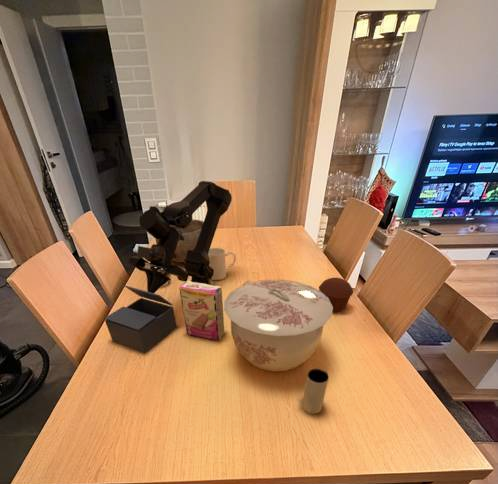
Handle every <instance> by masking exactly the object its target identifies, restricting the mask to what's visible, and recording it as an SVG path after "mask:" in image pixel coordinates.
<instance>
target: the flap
mask: <svg viewBox="0 0 498 484" xmlns="http://www.w3.org/2000/svg"><path fill="white" fill-rule="evenodd" d="M124 288H126V289H128V290H129V291H131V292H132V293H134V294H135V295H137V296H139V297H140V298H143V299H147V300H150V301H154V302H157V303H161V304H164V305H168V306H171V307H173V303H171V302H170V301H169V300H167V299H166V298H164V297H162V296H161V294H157V293H151V292H147V290H143V289H140V288H136V287H132V286H129V285H124Z"/></svg>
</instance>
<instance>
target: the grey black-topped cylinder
mask: <svg viewBox="0 0 498 484" xmlns="http://www.w3.org/2000/svg"><path fill="white" fill-rule="evenodd" d="M329 379H330V378H329V374H328V372H327V371H325V370H323V369H321V368H312V369H310V370H309V371H308V372H307V377H306V381H305V387H304V392H303V399H302V405H301V406H302V409H303V410H304V411H305V412H306V413H307V414H312V415H315V414H318V413H320V412H321V411H322V408H323V404H324V400H325V396H326V391H327V387H328V384H329V383H328V382H329Z"/></svg>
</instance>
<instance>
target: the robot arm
mask: <svg viewBox="0 0 498 484" xmlns="http://www.w3.org/2000/svg"><path fill="white" fill-rule="evenodd" d="M232 199H233V198H232V194H231V192H230V190H229V189H227V188H223V187H222V186H219V185H217V184H216V183H215V182H213V181H209V180H208V181H207V180H202V181H199V182H198V185H197V186H195V187H194V188H193V189H192V190H191V191H190V192H189V193H188V194H187V195H185V196H184V197H183V198H182V199H180V200H179V201H175V202H172V203H169V204H168V205H166V206H165V207H164V209H163V210H162V211H160V209H159V208H158V207H157V206H152V205H150V206H149V209H147V210H145V211H144V212H143V213H142V214H141V215H140V216H139V220H138V222H139V226H140V227H141V228H142V229H143V230H144V231H145V232H146V233H147V234H149V235H150V236H152V237H153V238H154V239H155V238H156V239H158V241H157V244H156V243H153V244H152V245H151V246H150V247H147V246H141V245H138V246H137V255H131V256H130V257H129V259H128V264H129V265H130V266H132V267H134V268H136V269H137V270H139V271H141V272H144V273H145V275H146V285H147V286H146V288H147V290H146V291H147V292H151V293H154V294H156V292H157V291H159V289H160V288H162V287H161V286H162V285H164V284H165V283H166V282H167V281H168V282H170V281H172V279H171V276H175V277H177V280H178V281H180V282H184V283H185V282H186V281H188V279H189V277H191V280H190V281H192V282H198V283H203V284H209V285H212V283H211V279H212V276H213V274H214V270H213V269H212V268H211V267H210V266H209V264H210V261H209V256H208V252H209V249H211V246H212V243H213V241H214V237H215V234H216V232H217V228H218V225H219V223H220V219H221V217H222V216H223V215H224V214H225V213H226V212H227V211H228V210H229V207H230V206H231V203H232V201H233V200H232ZM204 203H205V205H206V209H207V210H206V214H205V217H204V219H203V222H204V223H203V226H202V229H201V232H200V235H199V238H198V241H197V244H196V247H195V248H194V249H193V250H188V251H187V255H186V258H185V259H184V261H185V262H183V267H182V266H180V265H176V264H172V262H173V261H172V259H173V258H175V259H176V255H175V254H174V253H175V250H176V247H177V244H178V241H179V240H182V241H184V237H183V235H182V232H181V231H177V230H176V229H175V228H174V227H177V228H183V229H184V228H186V227H187V226H188V225H189V224H190V222H191V221H192V219H193V215H194V213H195V212H196V211H197V210H198V209H199V208H200V207H201V206H203V205H204ZM170 226H172V227H170ZM156 239H155V240H156ZM154 267H156V268H154Z"/></svg>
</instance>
